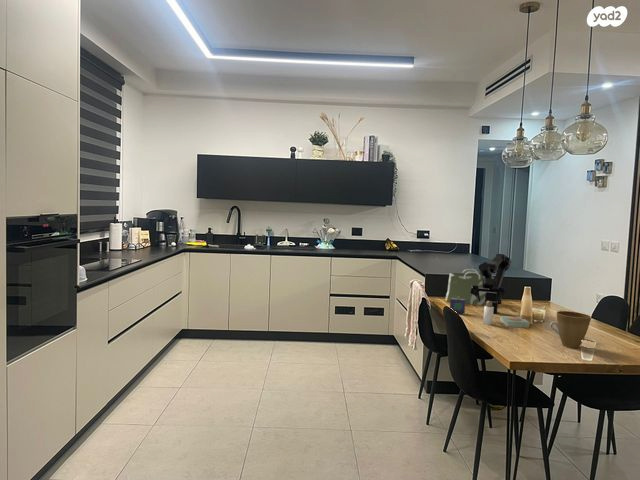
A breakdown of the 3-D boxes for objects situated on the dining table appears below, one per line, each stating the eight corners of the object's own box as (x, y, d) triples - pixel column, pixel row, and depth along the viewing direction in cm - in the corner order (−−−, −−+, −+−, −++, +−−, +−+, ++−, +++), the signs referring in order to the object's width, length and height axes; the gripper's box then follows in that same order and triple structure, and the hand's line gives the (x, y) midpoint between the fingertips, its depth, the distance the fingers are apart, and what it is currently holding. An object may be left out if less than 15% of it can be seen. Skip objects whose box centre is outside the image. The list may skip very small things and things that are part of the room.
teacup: (577, 336, 243) (579, 321, 243) (579, 342, 234) (581, 326, 233) (548, 332, 249) (549, 318, 249) (549, 337, 239) (550, 322, 239)
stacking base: (500, 320, 270) (500, 315, 269) (521, 322, 269) (521, 316, 269) (507, 326, 258) (507, 320, 257) (529, 327, 257) (529, 321, 257)
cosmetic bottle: (481, 322, 264) (483, 300, 263) (490, 323, 264) (492, 300, 262) (484, 324, 259) (486, 302, 258) (493, 325, 259) (495, 302, 258)
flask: (464, 313, 285) (465, 296, 284) (465, 314, 282) (466, 297, 281) (449, 312, 285) (450, 295, 284) (450, 313, 282) (451, 296, 282)
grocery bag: (446, 302, 315) (448, 269, 313) (445, 298, 328) (447, 266, 326) (495, 306, 308) (498, 272, 306) (492, 302, 322) (494, 269, 320)
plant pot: (595, 350, 221) (598, 317, 219) (570, 351, 217) (573, 318, 215) (570, 340, 235) (573, 310, 234) (546, 341, 231) (549, 310, 229)
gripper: (472, 271, 271) (472, 293, 261) (506, 274, 267) (507, 296, 257) (470, 282, 279) (470, 303, 269) (502, 285, 275) (504, 307, 265)
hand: (487, 302), depth 265 cm, fingers open, 9 cm apart
